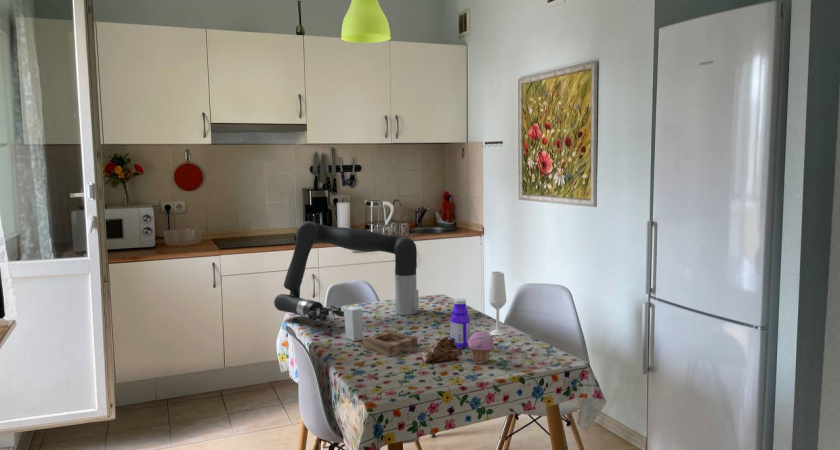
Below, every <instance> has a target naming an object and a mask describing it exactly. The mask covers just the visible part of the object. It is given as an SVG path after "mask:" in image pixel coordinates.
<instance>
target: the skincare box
mask: <svg viewBox="0 0 840 450" xmlns="http://www.w3.org/2000/svg"><path fill="white" fill-rule="evenodd" d="M343 312H344V326H345V328H344V329H345V338H346V340H347V339H348V340H350V341H352V342H359V341H363V339H364V335H363V317H362V316H363V315H362V308H360V307H356V306H353V305H352V306H351V305H350V306H347V307H344V308H343Z"/></svg>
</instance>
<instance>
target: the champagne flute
mask: <svg viewBox="0 0 840 450" xmlns="http://www.w3.org/2000/svg"><path fill="white" fill-rule="evenodd" d="M490 274H491V275H490V284H489V294H488V302H489V304H490V305H491V307H492V308H494V309H495V323H496V324H495V329H494V330H492V331H490V332H489V333H490V334H491V336H492V335H503V334H505V333H506V332H505V331H503V330H502V329H501V328H500V310H501V309H502V308H503V307H504V306H505V305H506V303H507V293H506V284H505V283H506V281H505V272H503V271H499V270H498V271H497V270H496V271H491V273H490Z"/></svg>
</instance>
